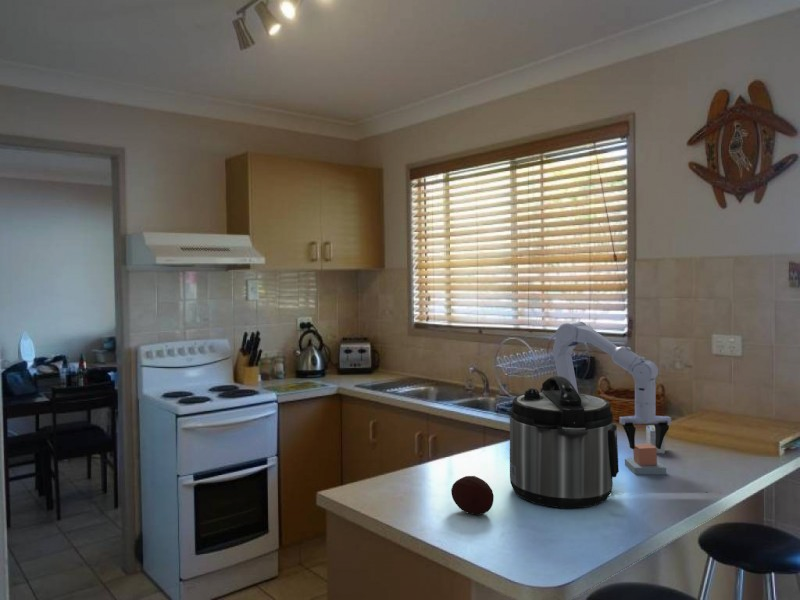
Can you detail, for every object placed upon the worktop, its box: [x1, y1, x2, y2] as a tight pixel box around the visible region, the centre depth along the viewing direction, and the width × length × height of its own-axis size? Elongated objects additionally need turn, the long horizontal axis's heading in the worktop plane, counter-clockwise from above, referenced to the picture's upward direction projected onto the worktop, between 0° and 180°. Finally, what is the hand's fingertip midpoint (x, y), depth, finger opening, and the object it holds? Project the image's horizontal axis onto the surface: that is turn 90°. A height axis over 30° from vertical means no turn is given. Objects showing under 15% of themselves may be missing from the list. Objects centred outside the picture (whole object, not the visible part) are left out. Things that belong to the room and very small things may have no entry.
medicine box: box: [645, 424, 666, 454], centre depth 208 cm, size 8×4×9 cm, turn 168°
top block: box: [624, 458, 667, 475], centre depth 187 cm, size 9×9×2 cm
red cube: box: [632, 443, 658, 466], centre depth 187 cm, size 5×5×5 cm
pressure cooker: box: [509, 375, 620, 509], centre depth 171 cm, size 30×28×32 cm
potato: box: [450, 475, 495, 515], centre depth 158 cm, size 9×12×9 cm
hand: (645, 448), depth 187 cm, fingers open, 7 cm apart
